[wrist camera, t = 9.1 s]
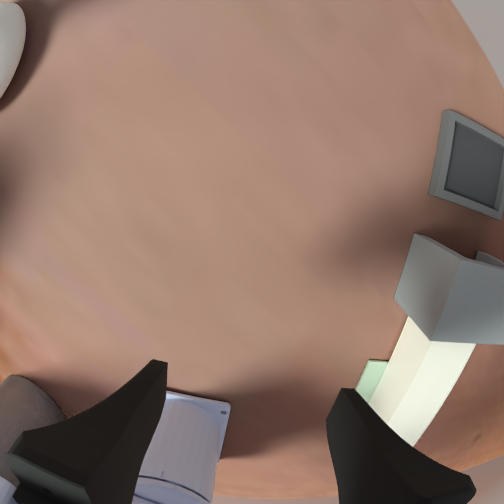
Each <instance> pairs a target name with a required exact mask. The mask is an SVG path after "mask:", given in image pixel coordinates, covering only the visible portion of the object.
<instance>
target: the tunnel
mask: <svg viewBox="0 0 504 504" xmlns="http://www.w3.org/2000/svg"><path fill="white" fill-rule="evenodd" d="M394 300H395V301H396V302H397V303H398V304H399V305H400V306H401V308H402V309H403V310H404V311H405V312H406V313H407V314H408V316H409V317H410V318H411V319H412V320H413V321H414V323H415V324H416V325H417V326H418V327H419V329H420V330H421V331H422V332H423V333H424V334H425V336H426V337H427V338H428V339H429V341H438V342H454V343H473V344H502V345H504V262H502V261H501V260H499V259H497V258H495V257H493V256H491V255H489V254H487V253H484V252H481V251H478V252H477V255H476V258H475V260H472V259H469V258H465V257H464V256H462V255H460V254H458V253H457V252H455V251H453V250H451V249H450V248H448V247H446V246H444V245H442V244H440V243H439V242H437V241H435V240H433V239H431V238H429V237H427V236H424V235H420V234H416V233H414V235H413V239H412V242H411V246H410V249H409V252H408V256H407V259H406V262H405V266H404V269H403V272H402V275H401V278H400V281H399V284H398V287H397V290H396V293H395V296H394Z"/></svg>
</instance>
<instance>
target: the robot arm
mask: <svg viewBox="0 0 504 504" xmlns="http://www.w3.org/2000/svg"><path fill="white" fill-rule="evenodd" d="M167 366H168V363H167V362H163V361H158V360H154V359H153V360H151V361H150V362H149V363H148V364H147V365H146V366H145V367H144V368H143V369H142V370H141V371H140V372H139V373H137V374H136V375H135V376H134V377H133V378H132V379H131V380H130V381H128V382H127V383H126V384H125V385H124V386H122V387H121V388H120V389H119V390H117V391H116V392H114V393H113V394H112V395H110V396H109V397H108V398H106V399H105V400H103V401H102V402H100V403H98V404H97V405H95V406H93V407H92V408H90V409H88V410H86V411H84V412H82V413H80V414H78V415H76V416H74V417H71V418H69V419H66V420H64V421H61V422H58V423H55V424H52V425H49V426H45V427H41V428H36V429H32V430H27V431H23V432H22V433H21V434H20V435H19V436H18V438H17V439H16V440H15V442H14V443H13V445H12V446H11V448H10V449H9V451H8V452H7V454H6V455H5V457H6V461H7V463H8V465H9V467H10V469H11V470H12V472H13V473H14V474H15V476H16V477H17V479H18V480H19V482H20V484H19V485H18V487H17V488H16V487H15V486H14V485H13V484H11V483H10V482H9V481H7V480H6V479H4V478H2V477H1V476H0V504H212V499H213V491H214V483H215V475H216V466H217V463H218V462H219V458H220V454H221V449H222V445H223V441H224V436H225V432H226V427H227V423H228V418H229V414H230V409H231V405H230V404H229V403H227V402H221V401H216V400H210V399H205V398H200V397H194V396H190V395H185V394H180V393H176V392H171V391H167V390H166V388H167ZM223 411H226V412H223ZM326 426H327V438H328V444H329V449H330V453H331V457H332V462H333V466H334V471H335V475H336V479H337V485H338V494H339V504H467V503H468V502H469V501H470V500H471V499H472V498H473V496H474V495H475V493H476V488H475V486H474V484H473V482H472V480H471V478H470V476H469V475H466V474H463V473H460V472H458V471H455V470H452V469H450V468H448V467H446V466H444V465H441V464H439V463H438V462H436V461H434V460H432V459H430V458H429V457H427V456H426V455H424V454H422V453H421V452H419V451H418V450H416V449H415V448H414V447H412V446H411V445H410V444H409V443H407V442H406V441H405V440H403V439H402V438H401V437H400V436H399V435H398V434H397V433H396V432H395V431H393V430H392V429H391V428H390V427H389V426H388V425H387V424H386V423H385V422H384V421H383V420H382V419H381V417H380V416H379V415H378V414H377V413H376V412H375V411H374V410H373V409H372V408H371V406H370V405H369V404H368V403H367V402H366V401H365V400H364V399H363V397H362V396H361V395H360V394H359V393H358V392H357V391H356V390H355V389H350V388H341V390H340V392H339V394H338V397H337V399H336V401H335V403H334V405H333V407H332V409H331V411H330V413H329V415H328V417H327V419H326Z"/></svg>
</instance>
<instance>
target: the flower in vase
mask: <svg viewBox="0 0 504 504" xmlns="http://www.w3.org/2000/svg"><path fill="white" fill-rule="evenodd" d="M25 37H26V22H25V16H24V13H23V11H22V9H21V7H20V6H19V5H17V4H16V3H12V2H6V3H0V98H1V97H2V95H3V94H4V92H5V91H6V89H7V87H8V85H9V84H10V82H11V80H12V78H13V76H14V74H15V71H16V69H17V66H18V64H19V61H20V58H21V55H22V52H23V48H24V43H25Z"/></svg>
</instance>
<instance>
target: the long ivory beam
mask: <svg viewBox="0 0 504 504" xmlns="http://www.w3.org/2000/svg"><path fill="white" fill-rule="evenodd" d="M475 345H476V344H473V343H454V342H438V341H429V339H428V338H427V337H426V336H425V334H424V333H423V332H422V331H421V330H420V329H419V327H418V326H417V325H416V324H415V323H414V321H413V320H412V319H411V318H410V317H409V316H408V318H407V321H406V323H405V326H404V328H403V331H402V333H401V335H400V338H399V340H398V342H397V345H396V347H395V349H394V352H393V354H392V356H391V358H390V360H389V362H388V365H387V367H386V369H385V371H384V373H383V375H382V377H381V379H380V381H379V383H378V385H377V387H376V389H375V391H374V393H373V395H372V397H371V399H370V401H369V403H368V404H369V405H370V406H371V408H372V409H373V410H374V411H375V412H376V413H377V414H378V415H379V416H380V417H381V419H382V420H383V421H384V422H385V423H386V424H387V425H388V426H389V427H390V428H391V429H392V430H393V431H395V432H396V433H397V434H398V435H399V436H400V437H401V438H402V439H403V440H405V441H406V442H407V443H409V444H410V445H411V446H412V447H413V446H414V445H415V443H416V442H417V441H418V439H419V438H420V437H421V435H422V434H423V433H424V431H425V430H426V428H427V427H428V425H429V424H430V422H431V421H432V420H433V418H434V417H435V415H436V414H437V412H438V410H439V409H440V407H441V406H442V404H443V403H444V401H445V399H446V398H447V396H448V395H449V393H450V391H451V390H452V388H453V386H454V384H455V383H456V381H457V379H458V377H459V376H460V374H461V372H462V370H463V368H464V366H465V365H466V363H467V361H468V359H469V357H470V355H471V353H472V351H473V349H474V347H475Z"/></svg>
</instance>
